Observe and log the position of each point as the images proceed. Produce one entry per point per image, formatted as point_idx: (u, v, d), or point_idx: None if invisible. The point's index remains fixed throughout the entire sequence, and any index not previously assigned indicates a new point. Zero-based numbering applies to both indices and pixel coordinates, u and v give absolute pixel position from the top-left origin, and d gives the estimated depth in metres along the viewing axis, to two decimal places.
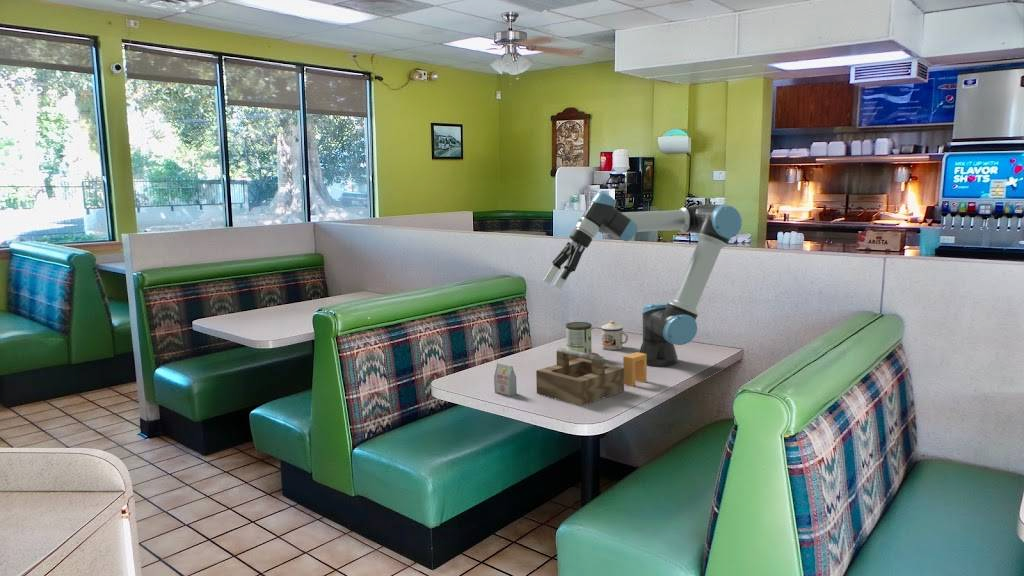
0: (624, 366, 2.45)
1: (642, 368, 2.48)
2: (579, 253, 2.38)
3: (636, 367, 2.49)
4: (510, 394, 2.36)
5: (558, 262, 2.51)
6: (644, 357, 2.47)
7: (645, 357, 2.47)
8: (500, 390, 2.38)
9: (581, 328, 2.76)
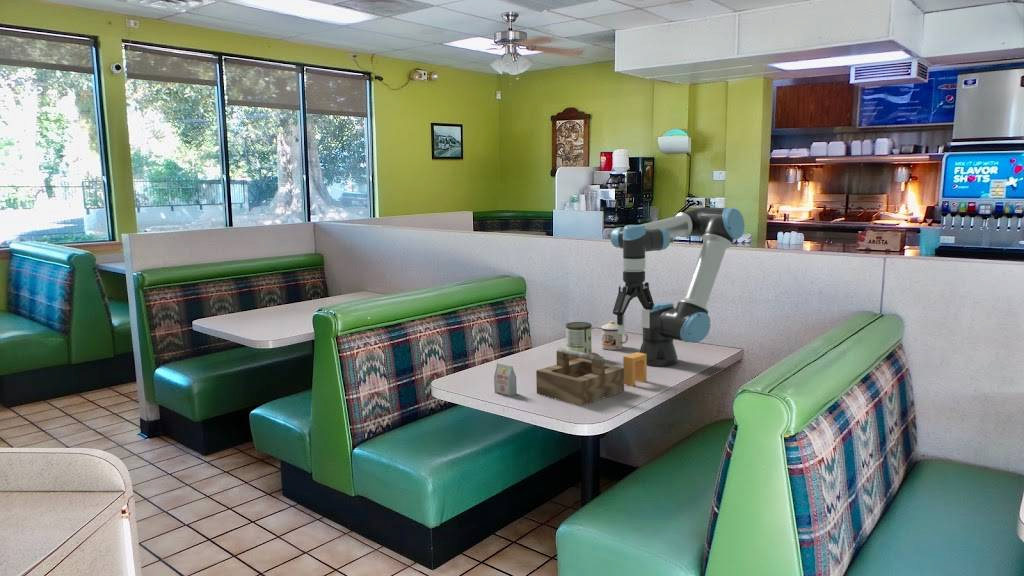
0: (624, 366, 2.45)
1: (642, 368, 2.48)
2: (621, 294, 2.38)
3: (636, 367, 2.49)
4: (510, 394, 2.36)
5: (643, 304, 2.48)
6: (644, 357, 2.47)
7: (645, 357, 2.47)
8: (500, 390, 2.38)
9: (581, 328, 2.76)
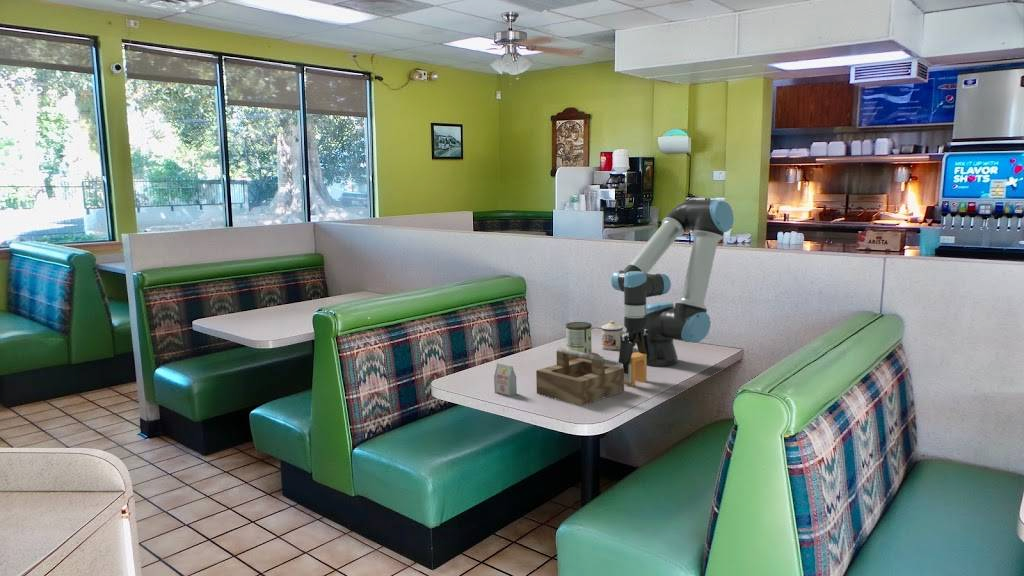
0: None
1: (642, 368, 2.48)
2: (623, 344, 2.41)
3: (636, 367, 2.49)
4: (510, 394, 2.36)
5: None
6: (644, 357, 2.47)
7: (645, 357, 2.47)
8: (500, 390, 2.38)
9: (581, 328, 2.76)
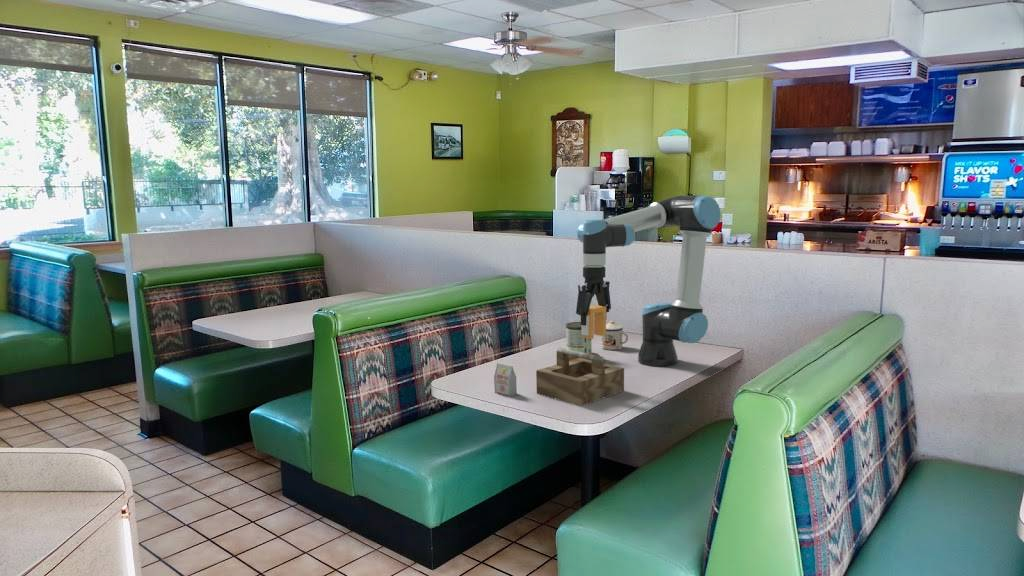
0: None
1: (601, 321, 2.38)
2: (581, 294, 2.31)
3: (596, 320, 2.40)
4: (510, 394, 2.36)
5: (600, 305, 2.39)
6: (603, 309, 2.37)
7: (604, 309, 2.37)
8: (500, 390, 2.38)
9: None
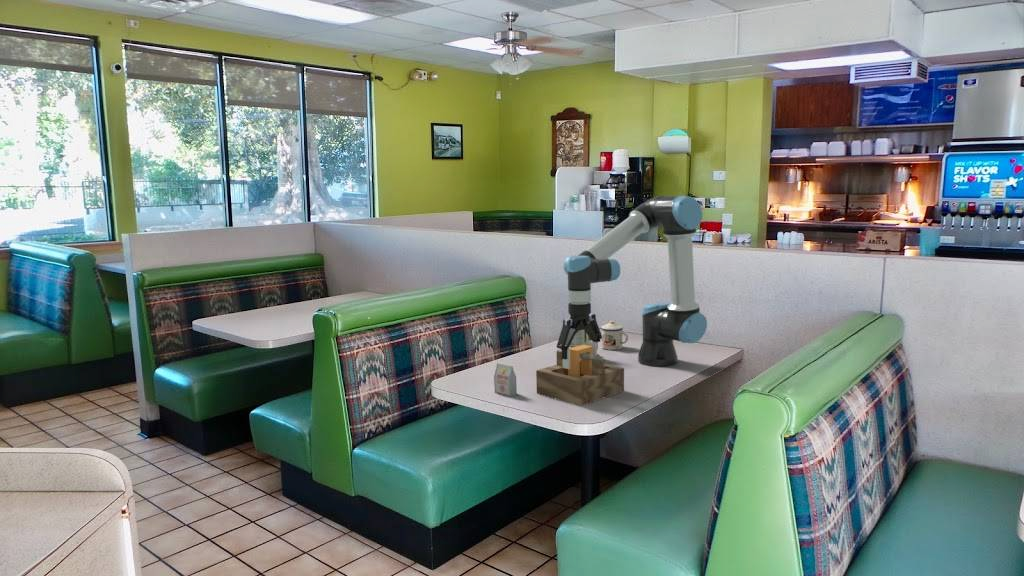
0: None
1: (588, 361, 2.38)
2: (565, 328, 2.30)
3: (582, 360, 2.40)
4: (510, 394, 2.36)
5: (590, 337, 2.40)
6: (590, 349, 2.37)
7: (591, 349, 2.37)
8: (500, 390, 2.38)
9: None
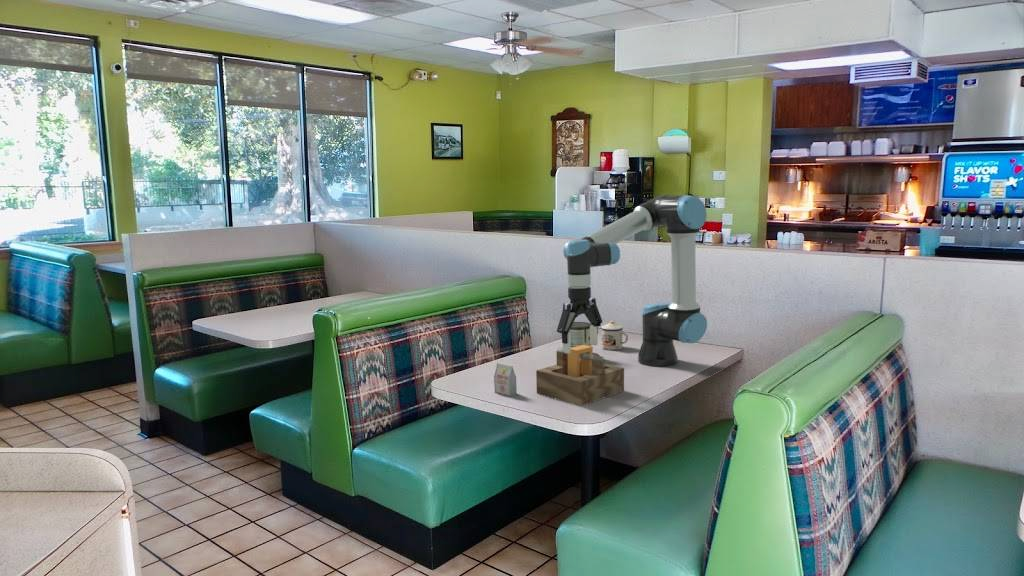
0: (568, 358, 2.35)
1: (588, 361, 2.38)
2: (565, 312, 2.29)
3: (582, 360, 2.40)
4: (510, 394, 2.36)
5: (591, 321, 2.39)
6: (590, 350, 2.37)
7: (591, 350, 2.37)
8: (500, 390, 2.38)
9: (581, 328, 2.76)
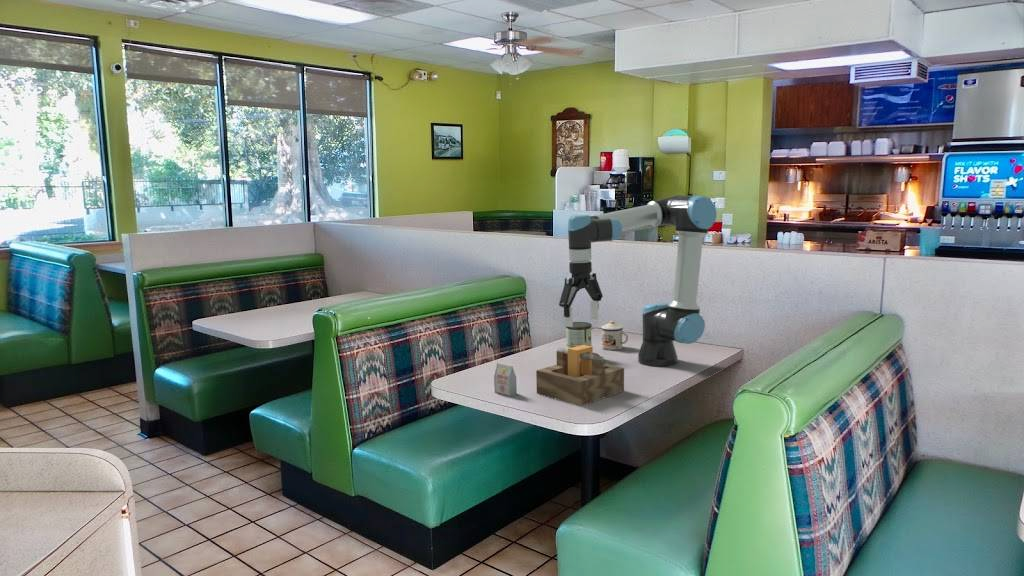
0: (568, 359, 2.35)
1: (588, 361, 2.38)
2: (567, 286, 2.33)
3: (582, 360, 2.40)
4: (510, 394, 2.36)
5: (591, 296, 2.43)
6: (590, 350, 2.37)
7: (591, 350, 2.37)
8: (500, 390, 2.38)
9: (581, 328, 2.76)
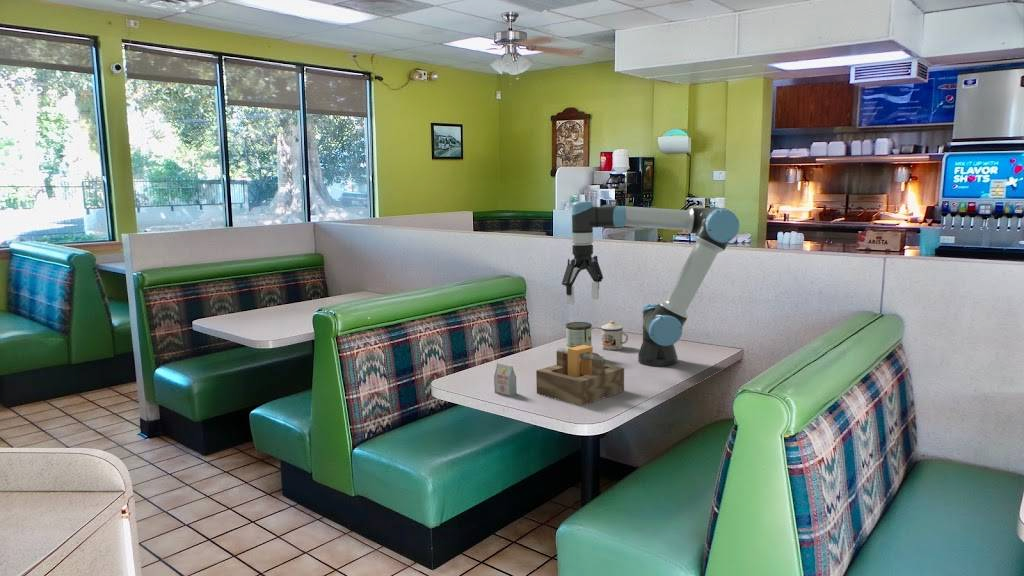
0: (568, 358, 2.35)
1: (588, 361, 2.38)
2: (569, 266, 2.52)
3: (582, 360, 2.40)
4: (510, 394, 2.36)
5: (592, 277, 2.63)
6: (590, 350, 2.37)
7: (591, 350, 2.37)
8: (500, 390, 2.38)
9: (581, 328, 2.76)
